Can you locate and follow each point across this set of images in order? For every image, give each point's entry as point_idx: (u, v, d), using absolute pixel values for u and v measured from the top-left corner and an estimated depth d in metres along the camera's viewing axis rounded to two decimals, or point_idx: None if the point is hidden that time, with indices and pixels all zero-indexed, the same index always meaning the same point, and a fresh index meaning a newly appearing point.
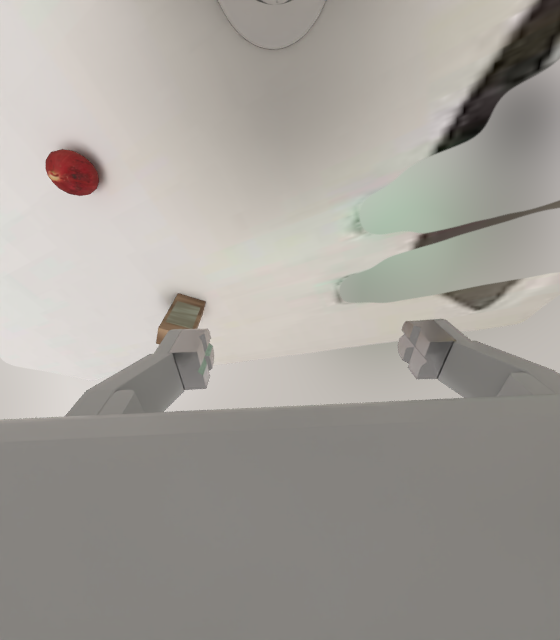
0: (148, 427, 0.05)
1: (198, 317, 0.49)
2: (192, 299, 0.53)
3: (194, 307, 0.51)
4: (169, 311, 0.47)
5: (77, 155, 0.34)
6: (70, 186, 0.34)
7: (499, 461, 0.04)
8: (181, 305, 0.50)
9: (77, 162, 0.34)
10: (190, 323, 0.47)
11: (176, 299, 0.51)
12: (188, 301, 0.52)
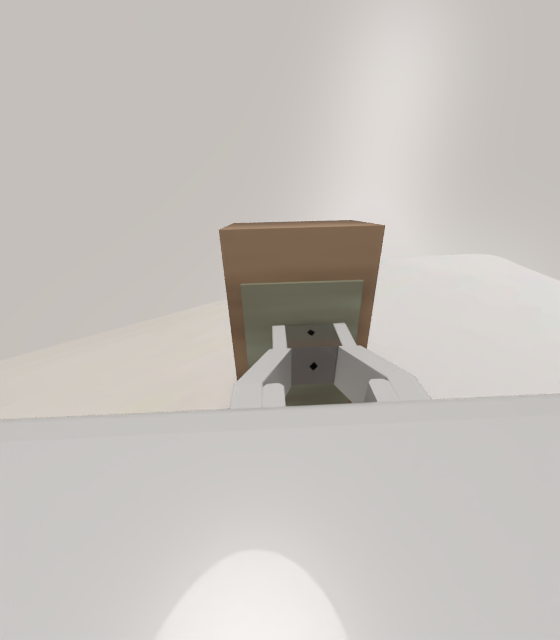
0: (149, 427, 0.05)
1: (241, 365, 0.11)
2: None
3: None
4: None
5: None
6: None
7: (499, 461, 0.04)
8: (325, 399, 0.12)
9: None
10: (258, 313, 0.10)
11: None
12: None
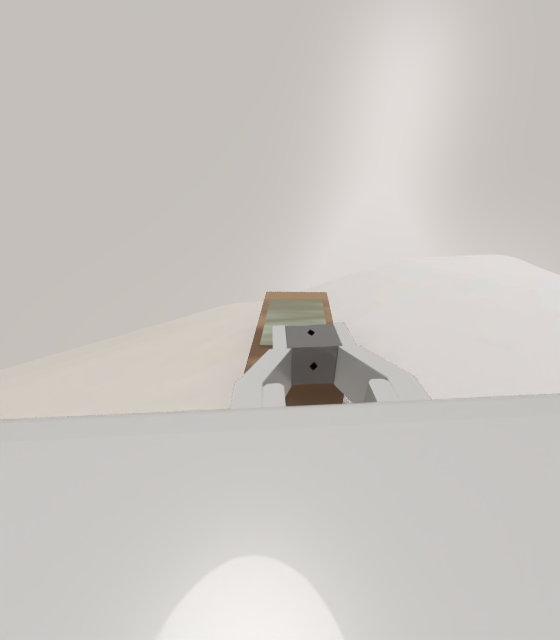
0: (149, 428, 0.05)
1: (261, 322, 0.19)
2: None
3: None
4: (329, 320, 0.20)
5: None
6: None
7: (499, 461, 0.04)
8: None
9: None
10: (275, 305, 0.22)
11: None
12: None
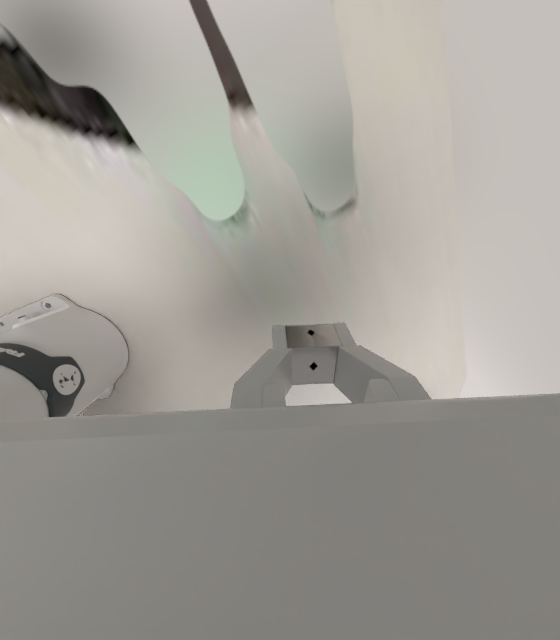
0: (148, 427, 0.05)
1: None
2: None
3: None
4: None
5: None
6: None
7: (499, 461, 0.04)
8: None
9: None
10: None
11: None
12: None
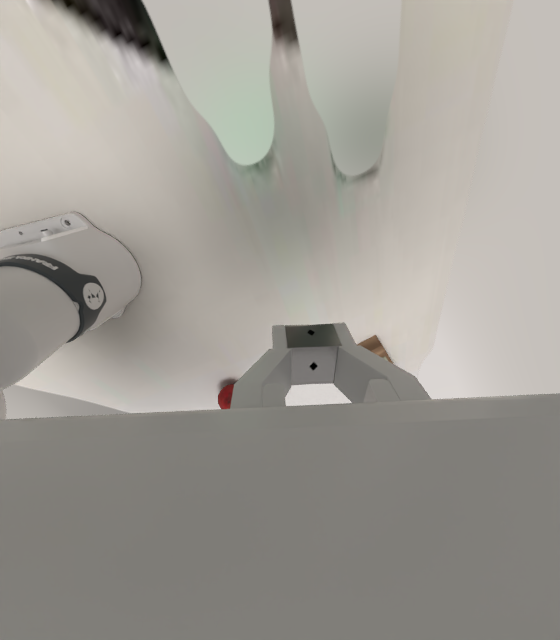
0: (148, 427, 0.05)
1: None
2: None
3: None
4: None
5: (219, 393, 0.54)
6: None
7: (499, 461, 0.04)
8: None
9: (222, 396, 0.53)
10: None
11: None
12: None
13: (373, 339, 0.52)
